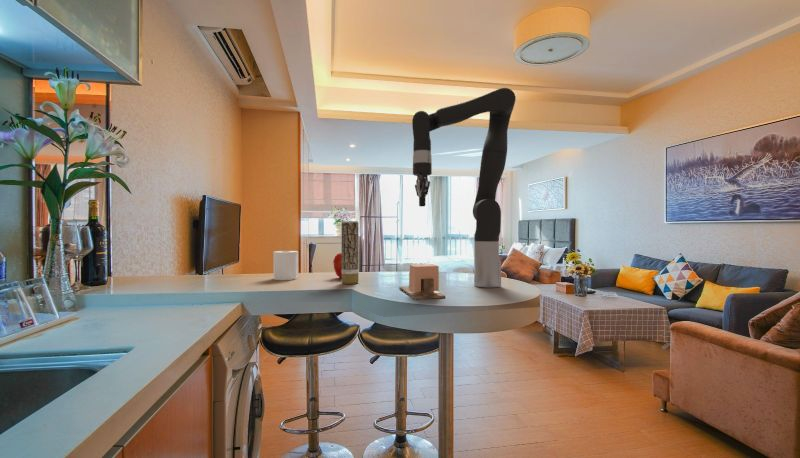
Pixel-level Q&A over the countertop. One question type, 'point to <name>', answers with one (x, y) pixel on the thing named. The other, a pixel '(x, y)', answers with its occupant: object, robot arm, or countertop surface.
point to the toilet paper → (285, 265)
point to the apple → (338, 264)
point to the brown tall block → (350, 252)
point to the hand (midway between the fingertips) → (422, 206)
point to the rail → (423, 290)
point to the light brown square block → (423, 276)
